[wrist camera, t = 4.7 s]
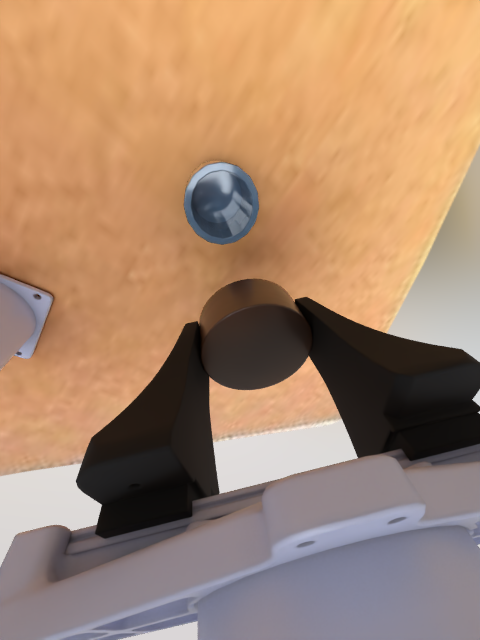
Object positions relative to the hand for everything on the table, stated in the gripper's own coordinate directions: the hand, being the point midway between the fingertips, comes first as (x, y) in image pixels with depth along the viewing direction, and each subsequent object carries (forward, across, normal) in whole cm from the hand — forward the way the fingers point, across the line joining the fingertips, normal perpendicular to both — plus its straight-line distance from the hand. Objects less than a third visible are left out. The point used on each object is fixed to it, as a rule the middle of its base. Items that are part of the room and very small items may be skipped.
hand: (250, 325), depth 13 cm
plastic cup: (+10, 0, -5) cm, 11 cm away
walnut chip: (0, 0, 0) cm, 0 cm away
